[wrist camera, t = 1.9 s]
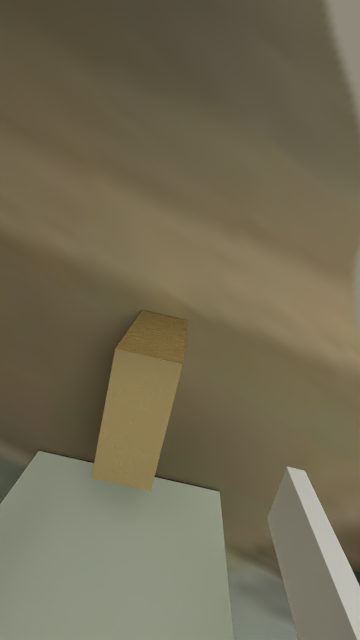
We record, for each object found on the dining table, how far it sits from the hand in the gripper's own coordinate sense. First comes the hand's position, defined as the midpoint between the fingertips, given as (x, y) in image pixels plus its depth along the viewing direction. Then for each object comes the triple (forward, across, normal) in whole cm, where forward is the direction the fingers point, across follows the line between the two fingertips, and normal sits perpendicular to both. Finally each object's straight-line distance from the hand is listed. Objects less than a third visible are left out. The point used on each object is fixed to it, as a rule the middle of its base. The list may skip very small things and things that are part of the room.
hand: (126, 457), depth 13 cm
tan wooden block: (+9, 0, +1) cm, 9 cm away
